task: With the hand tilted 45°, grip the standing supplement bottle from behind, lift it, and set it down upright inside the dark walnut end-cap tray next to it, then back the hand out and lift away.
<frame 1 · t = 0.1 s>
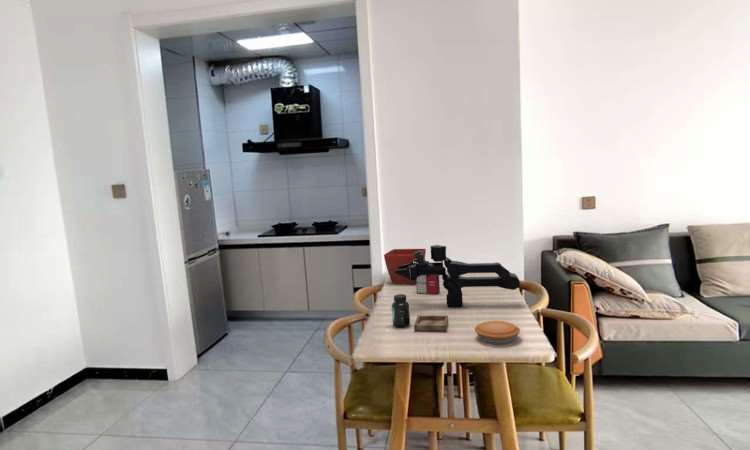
hand: (396, 269, 210), 17 cm above the table, tool horizontal, fingers open, 9 cm apart
pie: (497, 339, 165), on the table
grey and red box: (428, 293, 230), on the table
plant pot: (406, 282, 256), on the table
walnut end-cap tray: (431, 326, 181), on the table
supplement bottle: (401, 325, 185), on the table
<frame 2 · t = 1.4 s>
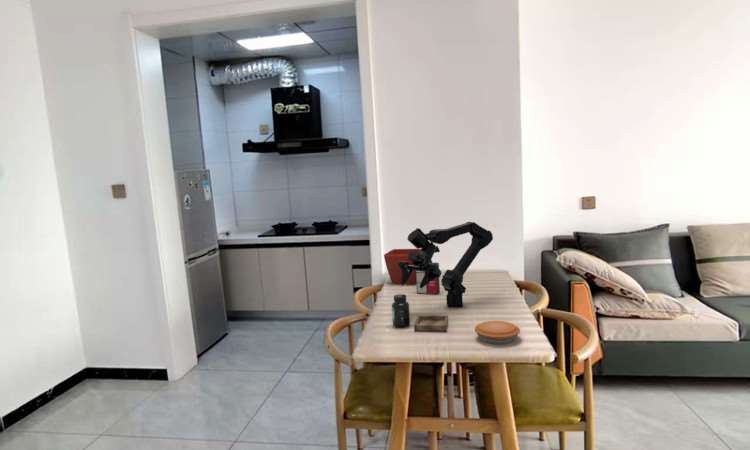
hand: (411, 286, 190), 14 cm above the table, tool tilted 45°, fingers open, 9 cm apart
nothing on the table moved.
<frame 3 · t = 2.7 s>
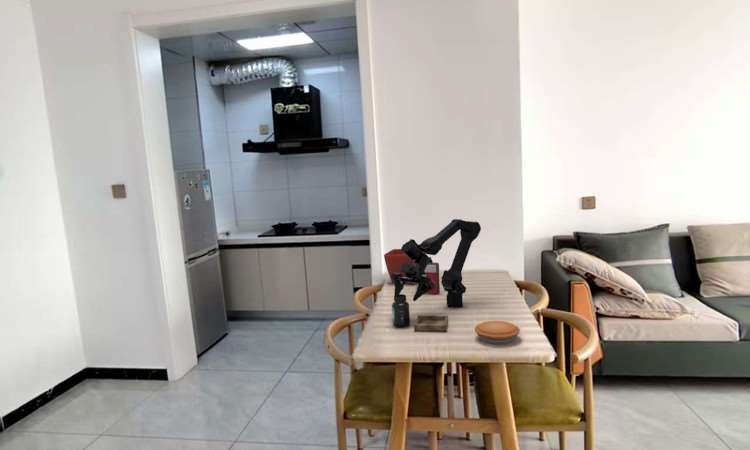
hand: (404, 299, 186), 10 cm above the table, tool tilted 45°, fingers open, 9 cm apart
nothing on the table moved.
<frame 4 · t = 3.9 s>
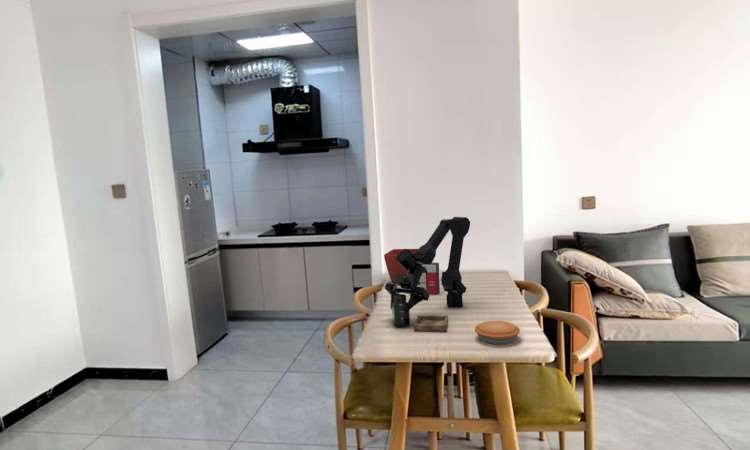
hand: (398, 309, 183), 7 cm above the table, tool tilted 45°, fingers closed on supplement bottle, 7 cm apart
supplement bottle: (401, 325, 185), on the table, touching gripper
everything else where it was.
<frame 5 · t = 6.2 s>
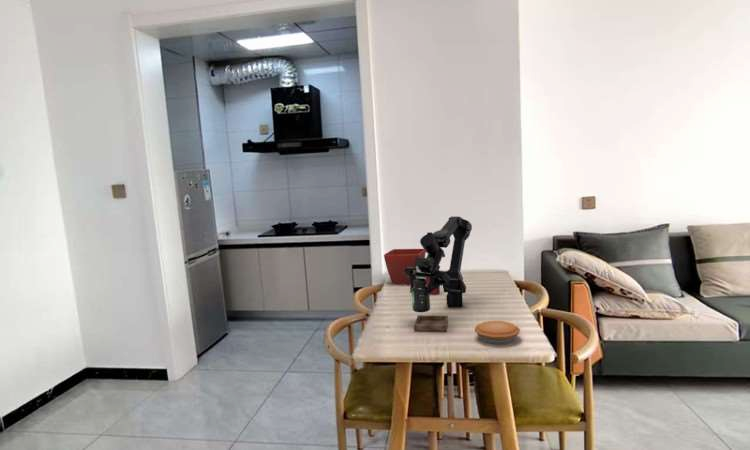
hand: (418, 294, 180), 13 cm above the table, tool tilted 45°, fingers closed on supplement bottle, 7 cm apart
supplement bottle: (421, 310, 182), point 6 cm above the table, touching gripper
everything else where it was.
when the fingers open (9 cm above the table, at t = 8.0 s): supplement bottle drops 1 cm, resting on walnut end-cap tray.
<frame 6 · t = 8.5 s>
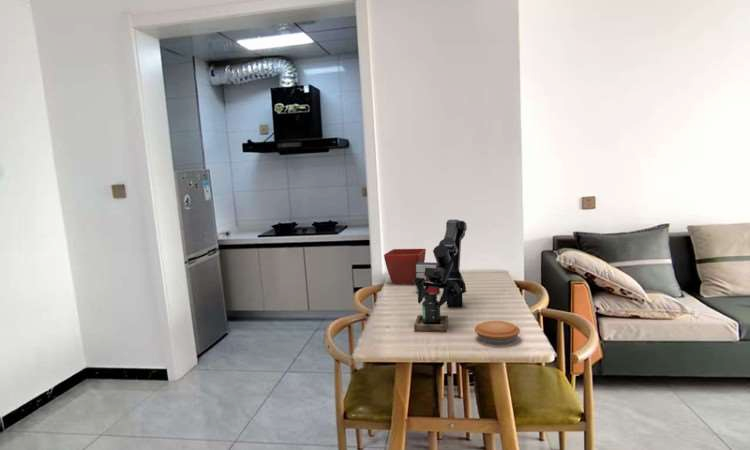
hand: (428, 304, 179), 9 cm above the table, tool tilted 45°, fingers open, 9 cm apart
supplement bottle: (431, 324, 181), point 1 cm above the table, touching walnut end-cap tray
everything else where it was.
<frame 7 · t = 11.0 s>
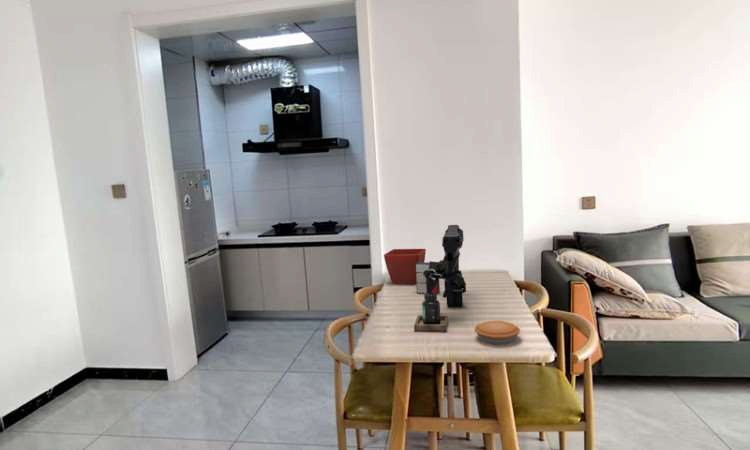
hand: (435, 296, 189), 10 cm above the table, tool tilted 35°, fingers open, 9 cm apart
nothing on the table moved.
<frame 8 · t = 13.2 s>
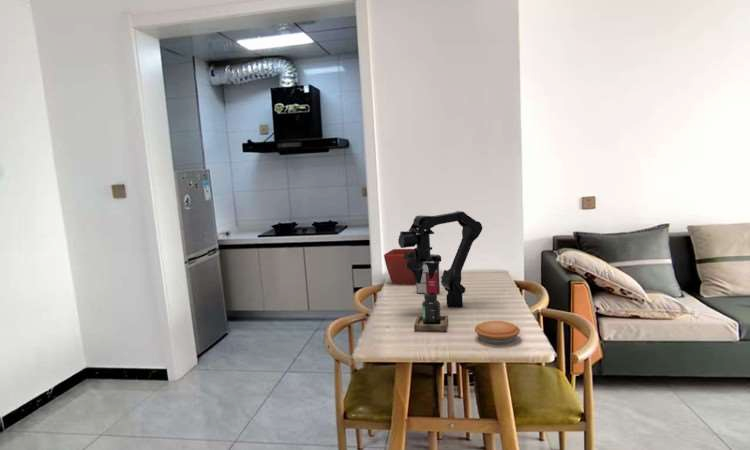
hand: (425, 281, 200), 13 cm above the table, tool pointing down, fingers open, 9 cm apart
nothing on the table moved.
at the end: supplement bottle 0.1 cm off-centre on the walnut end-cap tray, point 0.6 cm above the walnut end-cap tray's base; supplement bottle tilted 0°; the gripper is holding nothing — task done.
